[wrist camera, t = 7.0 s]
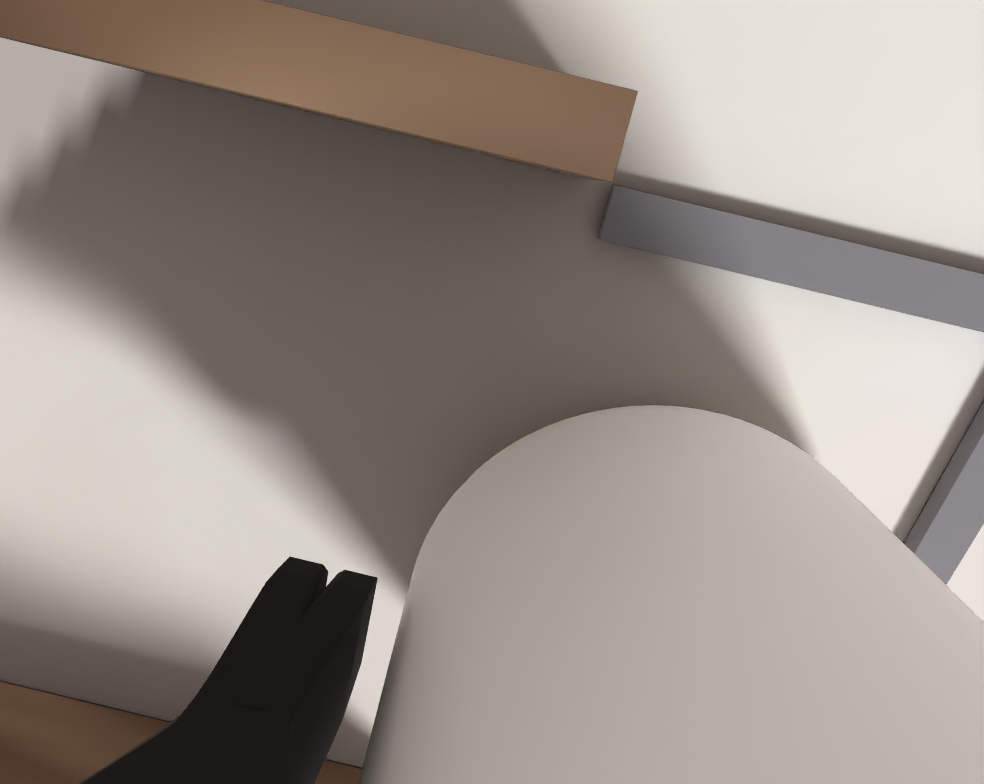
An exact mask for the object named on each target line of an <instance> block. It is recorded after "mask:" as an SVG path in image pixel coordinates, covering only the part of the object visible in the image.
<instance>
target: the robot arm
mask: <svg viewBox="0 0 984 784" xmlns="http://www.w3.org/2000/svg"><path fill="white" fill-rule="evenodd" d="M327 576H328V570H327V569H326V568H325V566H324V565H323V564H318V563H314V562H310V561H306V560H302V559H298V558H294V557H289V558H288V559H287V560H286V561H285V562H284V563H283V564H282V565H281V566H280V567H279V568H278V569H277V570H276V572H275V573H274V574H273V575H272V576H271V577H270V578H269V580H268V581H267V582H266V583H265V585H264V587H263V588H262V590H261V591H260V593H259V595H258V596H257V598H256V600H255V601H254V603H253V604H252V606H251V608H250V609H249V611H248V613H247V614H246V616H245V618H244V619H243V621H242V623H241V624H240V626H239V628H238V629H237V631H236V633H235V634H234V636H233V638H232V640H231V641H230V643H229V645H228V646H227V648H226V650H225V651H224V653H223V655H222V656H221V658H220V660H219V661H218V663H217V665H216V666H215V668H214V670H213V671H212V673H211V674H210V676H209V677H208V679H207V680H206V682H205V683H204V685H203V686H202V688H201V689H200V691H199V692H198V694H197V695H196V696H195V698H194V699H193V700H192V702H191V703H190V704H189V705H188V707H187V708H186V709H185V711H184V712H183V713H182V714H181V715H180V716H179V717H177V718H176V719H175V720H173V721H172V722H170V723H169V724H168V725H166V726H165V727H163V728H162V729H161V730H159V731H158V732H156V733H155V734H153V735H152V736H150V737H149V738H147V739H146V740H144V741H143V742H141V743H140V744H138V745H137V746H135V747H134V748H132V749H131V750H129V751H128V752H126V753H125V754H123V755H122V756H120V757H119V758H117V759H116V760H114V761H113V762H111V763H110V764H108V765H107V766H105V767H103V768H102V769H100V770H99V771H97V772H95V773H94V774H92V775H91V776H89V777H88V778H86V779H84V780H83V781H81V782H79V783H78V784H314V783H315V781H316V779H317V776H318V774H319V772H320V770H321V767H322V765H323V763H324V761H325V758H326V756H327V754H328V751H329V749H330V747H331V745H332V742H333V740H334V738H335V736H336V733H337V731H338V729H339V726H340V724H341V722H342V719H343V717H344V714H345V711H346V708H347V705H348V702H349V699H350V696H351V693H352V690H353V686H354V683H355V680H356V677H357V674H358V671H359V668H360V665H361V662H362V657H363V651H364V646H365V641H366V636H367V630H368V625H369V620H370V615H371V610H372V604H373V599H374V594H375V589H376V583H377V577H373V576H368V575H364V574H360V573H356V572H352V571H348V570H344V571H342V572H340V573H338V574H337V575H336V576H335V577H334V579H333V580H332V581H331V582H330V583H329V584H328V585H327V587H326V583H327Z"/></svg>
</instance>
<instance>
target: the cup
mask: <svg viewBox="0 0 984 784" xmlns="http://www.w3.org/2000/svg"><path fill="white" fill-rule="evenodd" d="M359 784H984V622H983V621H982V620H981V619H980V618H979V617H978V616H977V615H976V614H975V613H974V612H973V611H972V610H971V609H970V608H969V607H968V606H967V605H966V604H965V603H964V602H963V601H962V600H961V599H960V598H959V597H958V596H957V595H956V594H955V593H954V592H953V591H952V590H951V589H950V588H949V587H948V586H947V585H946V584H945V583H944V582H942V581H941V580H940V579H939V578H938V577H937V576H936V575H935V574H934V573H933V572H932V571H931V570H930V569H929V568H928V567H927V566H926V565H925V564H924V563H923V562H922V561H921V560H920V559H919V558H918V557H917V556H916V555H915V554H914V553H913V552H912V551H911V550H910V549H909V548H908V547H907V546H906V545H905V544H904V543H903V542H902V541H900V540H899V539H898V538H897V537H896V536H895V535H894V534H893V533H892V532H891V531H890V530H889V529H888V528H887V527H886V526H885V525H884V524H883V523H882V522H881V521H880V520H879V519H878V518H877V517H876V516H875V515H874V514H873V513H872V512H871V511H870V510H869V509H868V508H867V507H866V506H865V505H864V504H863V503H862V502H861V501H860V500H859V499H857V498H856V497H855V496H854V495H853V494H852V493H851V492H850V491H849V490H848V489H847V488H846V487H845V486H844V485H843V484H842V483H841V482H840V481H839V480H838V479H837V478H836V477H835V476H834V475H833V474H832V473H831V472H829V471H828V470H827V469H826V468H825V467H824V466H822V465H821V464H820V463H819V462H818V461H817V460H815V459H814V458H813V457H811V456H810V455H808V454H807V453H806V452H804V451H803V450H801V449H800V448H798V447H797V446H795V445H794V444H792V443H791V442H789V441H787V440H785V439H783V438H781V437H779V436H777V435H776V434H774V433H772V432H770V431H768V430H766V429H764V428H761V427H759V426H756V425H754V424H751V423H749V422H746V421H744V420H740V419H737V418H734V417H731V416H727V415H724V414H720V413H715V412H710V411H706V410H701V409H694V408H687V407H679V406H662V405H645V406H627V407H618V408H610V409H605V410H600V411H594V412H589V413H585V414H582V415H578V416H575V417H571V418H567V419H565V420H562V421H559V422H556V423H554V424H551V425H548V426H546V427H544V428H541V429H539V430H537V431H535V432H533V433H531V434H529V435H527V436H525V437H523V438H521V439H520V440H518V441H516V442H514V443H512V444H511V445H509V446H508V447H506V448H505V449H503V450H502V451H500V452H499V453H497V454H496V455H494V456H493V457H492V458H491V459H489V460H488V461H487V462H486V463H484V464H483V465H482V466H481V467H479V468H478V469H477V470H476V471H475V472H474V473H473V474H472V475H471V476H470V477H469V478H468V480H467V481H466V482H465V483H464V484H463V485H462V486H461V487H460V488H459V489H458V490H457V491H456V492H455V493H454V494H453V495H452V496H451V498H450V499H449V500H448V502H447V503H446V505H445V506H444V507H443V509H442V510H441V511H440V513H439V514H438V516H437V518H436V519H435V521H434V523H433V525H432V526H431V528H430V530H429V532H428V533H427V535H426V537H425V540H424V542H423V545H422V547H421V550H420V552H419V554H418V557H417V560H416V563H415V567H414V570H413V573H412V577H411V581H410V585H409V589H408V593H407V597H406V601H405V605H404V608H403V612H402V616H401V620H400V624H399V628H398V632H397V636H396V640H395V644H394V647H393V651H392V655H391V659H390V663H389V667H388V671H387V675H386V679H385V683H384V686H383V690H382V694H381V698H380V702H379V706H378V710H377V714H376V718H375V722H374V725H373V729H372V733H371V737H370V741H369V745H368V749H367V753H366V757H365V760H364V764H363V768H362V772H361V776H360V780H359Z"/></svg>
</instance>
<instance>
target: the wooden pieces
mask: <svg viewBox="0 0 984 784" xmlns="http://www.w3.org/2000/svg"><path fill="white" fill-rule="evenodd" d="M0 37H2V38H6V39H10V40H14V41H18V42H22V43H26V44H31V45H35V46H39V47H43V48H48V49H51V50H55V51H60V52H64V53H68V54H72V55H76V56H81V57H84V58H89V59H93V60H97V61H101V62H105V63H109V64H113V65H118V66H122V67H126V68H130V69H134V70H138V71H142V72H147V73H151V74H155V75H159V76H163V77H167V78H171V79H176V80H180V81H184V82H188V83H192V84H196V85H200V86H205V87H209V88H213V89H217V90H221V91H225V92H230V93H234V94H238V95H242V96H246V97H250V98H254V99H259V100H263V101H267V102H271V103H275V104H279V105H283V106H288V107H292V108H296V109H300V110H304V111H308V112H312V113H317V114H321V115H325V116H329V117H333V118H337V119H341V120H346V121H350V122H354V123H358V124H362V125H366V126H370V127H375V128H379V129H383V130H387V131H391V132H395V133H399V134H404V135H408V136H412V137H416V138H420V139H424V140H428V141H433V142H437V143H441V144H445V145H449V146H453V147H457V148H462V149H466V150H470V151H474V152H478V153H482V154H487V155H491V156H495V157H499V158H503V159H507V160H511V161H516V162H520V163H524V164H528V165H532V166H536V167H540V168H545V169H549V170H553V171H557V172H561V173H565V174H569V175H574V176H578V177H582V178H586V179H593V180H602V181H611V182H612V181H613V178H614V174H615V171H616V167H617V164H618V160H619V157H620V153H621V149H622V146H623V142H624V139H625V135H626V132H627V128H628V125H629V121H630V117H631V114H632V110H633V107H634V103H635V100H636V96H637V92H638V91H636V90H632V89H628V88H623V87H619V86H615V85H611V84H607V83H603V82H599V81H594V80H590V79H586V78H582V77H578V76H574V75H570V74H565V73H561V72H557V71H553V70H549V69H545V68H541V67H536V66H532V65H528V64H524V63H520V62H516V61H511V60H507V59H503V58H499V57H495V56H491V55H487V54H482V53H478V52H474V51H470V50H466V49H462V48H458V47H453V46H449V45H445V44H441V43H437V42H433V41H429V40H424V39H420V38H416V37H412V36H408V35H404V34H400V33H395V32H391V31H387V30H383V29H379V28H375V27H371V26H366V25H362V24H358V23H354V22H350V21H346V20H342V19H337V18H333V17H329V16H325V15H321V14H317V13H312V12H308V11H304V10H300V9H296V8H292V7H288V6H283V5H279V4H275V3H271V2H267V1H263V0H0ZM169 723H170V722H166V721H161V720H157V719H153V718H149V717H145V716H141V715H137V714H132V713H128V712H124V711H120V710H116V709H112V708H108V707H103V706H99V705H95V704H91V703H87V702H83V701H79V700H74V699H70V698H66V697H62V696H58V695H54V694H50V693H45V692H41V691H37V690H33V689H29V688H25V687H21V686H16V685H12V684H8V683H4V682H0V784H78V783H79V782H81V781H83V780H84V779H86V778H88V777H89V776H91V775H92V774H94V773H95V772H97V771H99V770H100V769H102V768H103V767H105V766H107V765H108V764H110V763H111V762H113V761H114V760H116V759H117V758H119V757H120V756H122V755H123V754H125V753H126V752H128V751H129V750H131V749H132V748H134V747H135V746H137V745H138V744H140V743H141V742H143V741H144V740H146V739H147V738H149V737H150V736H152V735H153V734H155V733H156V732H158V731H159V730H161V729H162V728H163V727H165V726H166V725H168V724H169ZM361 772H362V769H360V768H356V767H352V766H348V765H344V764H339V763H335V762H331V761H327V760H325V761H324V763H323V765H322V767H321V770H320V772H319V774H318V776H317V779H316V781H315V783H314V784H359V780H360V776H361Z"/></svg>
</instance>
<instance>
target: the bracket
mask: <svg viewBox="0 0 984 784" xmlns="http://www.w3.org/2000/svg"><path fill="white" fill-rule="evenodd" d="M598 238H599V239H600V240H603V241H608V242H612V243H616V244H620V245H624V246H628V247H632V248H637V249H641V250H645V251H649V252H653V253H657V254H661V255H666V256H670V257H674V258H678V259H682V260H686V261H690V262H695V263H699V264H703V265H707V266H711V267H715V268H720V269H724V270H728V271H732V272H736V273H740V274H744V275H749V276H753V277H757V278H761V279H765V280H769V281H773V282H778V283H782V284H786V285H790V286H794V287H798V288H802V289H807V290H811V291H815V292H819V293H823V294H827V295H831V296H836V297H840V298H844V299H848V300H852V301H856V302H860V303H865V304H869V305H873V306H877V307H881V308H885V309H889V310H894V311H898V312H902V313H906V314H910V315H914V316H918V317H923V318H927V319H931V320H935V321H939V322H943V323H947V324H952V325H956V326H960V327H964V328H968V329H972V330H976V331H981V332H984V274H981V273H976V272H972V271H968V270H964V269H960V268H956V267H952V266H947V265H943V264H939V263H935V262H931V261H927V260H923V259H918V258H914V257H910V256H906V255H902V254H898V253H893V252H889V251H885V250H881V249H877V248H873V247H869V246H864V245H860V244H856V243H852V242H848V241H844V240H840V239H835V238H831V237H827V236H823V235H819V234H815V233H811V232H806V231H802V230H798V229H794V228H790V227H786V226H782V225H777V224H773V223H769V222H765V221H761V220H757V219H753V218H748V217H744V216H740V215H736V214H732V213H728V212H724V211H719V210H715V209H711V208H707V207H703V206H699V205H695V204H690V203H686V202H682V201H678V200H674V199H670V198H666V197H661V196H657V195H653V194H649V193H645V192H641V191H636V190H632V189H628V188H624V187H620V186H616V185H613V186H612V190H611V193H610V197H609V201H608V204H607V208H606V211H605V215H604V218H603V222H602V225H601V229H600V233H599V236H598ZM983 524H984V402H983V404H982V405H981V407H980V409H979V411H978V413H977V414H976V416H975V418H974V420H973V421H972V423H971V425H970V427H969V429H968V430H967V432H966V434H965V436H964V437H963V439H962V441H961V443H960V444H959V446H958V448H957V450H956V452H955V453H954V455H953V457H952V459H951V460H950V462H949V464H948V466H947V468H946V469H945V471H944V473H943V475H942V476H941V478H940V480H939V482H938V484H937V485H936V487H935V489H934V491H933V492H932V494H931V496H930V498H929V500H928V501H927V503H926V505H925V507H924V508H923V510H922V512H921V514H920V516H919V517H918V519H917V521H916V523H915V524H914V526H913V528H912V530H911V531H910V533H909V535H908V537H907V539H906V540H905V542H904V544H905V545H906V546H907V547H908V548H909V549H910V550H911V551H912V552H913V553H914V554H915V555H916V556H917V557H918V558H919V559H920V560H921V561H922V562H923V563H924V564H925V565H926V566H927V567H928V568H929V569H930V570H931V571H932V572H933V573H934V574H935V575H936V576H937V577H938V578H939V579H940V580H941V581H942V582H944V583H945V584H947V583H948V581H949V579H950V578H951V576H952V575H953V573H954V571H955V570H956V568H957V566H958V565H959V563H960V561H961V560H962V558H963V557H964V555H965V553H966V552H967V550H968V548H969V547H970V545H971V543H972V542H973V540H974V539H975V537H976V535H977V534H978V532H979V530H980V529H981V527H982V525H983Z"/></svg>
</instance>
